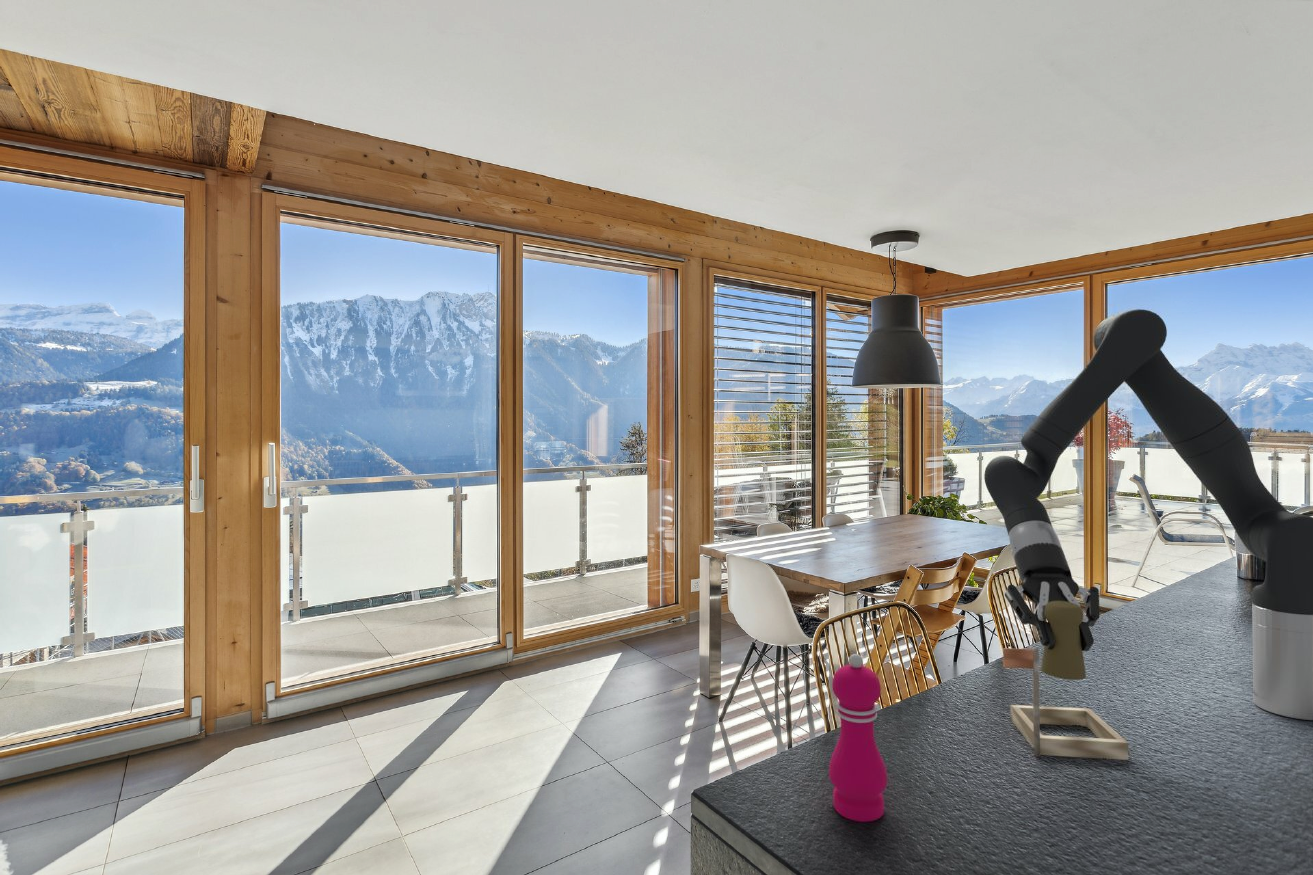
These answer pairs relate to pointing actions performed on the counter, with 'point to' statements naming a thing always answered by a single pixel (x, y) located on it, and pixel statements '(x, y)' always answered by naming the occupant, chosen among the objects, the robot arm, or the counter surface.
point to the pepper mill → (857, 745)
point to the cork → (1064, 641)
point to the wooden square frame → (1060, 720)
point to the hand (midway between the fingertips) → (1069, 647)
